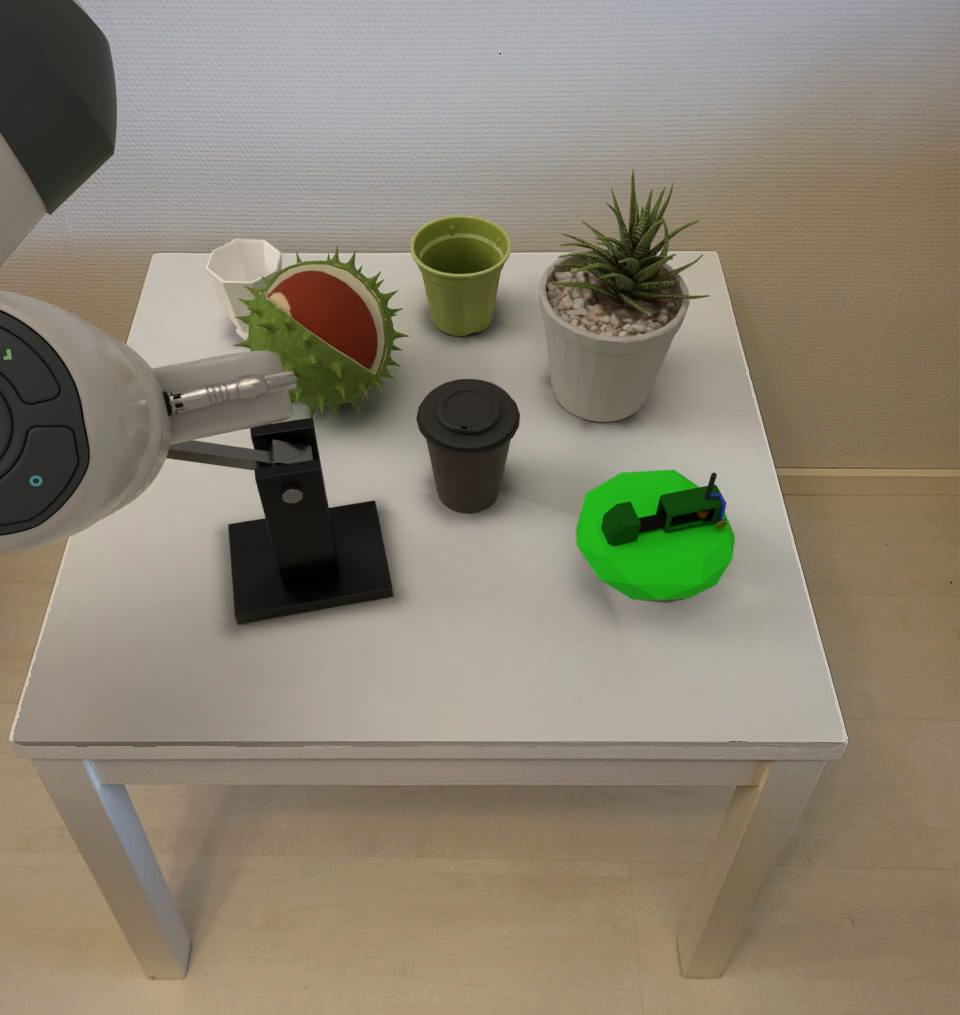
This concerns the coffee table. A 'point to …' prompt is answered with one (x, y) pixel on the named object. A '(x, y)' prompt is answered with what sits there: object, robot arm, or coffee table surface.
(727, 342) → the coffee table surface
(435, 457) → the coffee cup
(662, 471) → the green rounded piece
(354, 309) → the chestnut
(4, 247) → the robot arm
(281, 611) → the black lever stand
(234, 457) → the tap lever
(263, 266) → the cup
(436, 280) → the plant pot
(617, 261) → the potted plant
